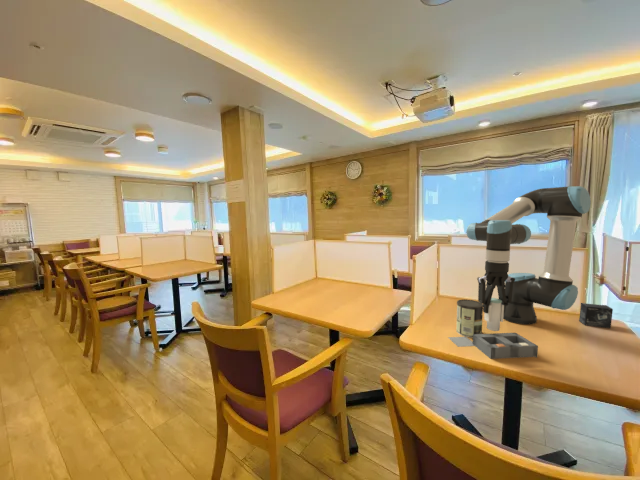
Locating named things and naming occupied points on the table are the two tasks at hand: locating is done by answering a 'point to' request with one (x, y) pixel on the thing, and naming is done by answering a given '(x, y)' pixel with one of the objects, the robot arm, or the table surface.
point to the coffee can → (469, 317)
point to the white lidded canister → (495, 315)
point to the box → (596, 315)
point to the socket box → (505, 345)
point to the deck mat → (461, 341)
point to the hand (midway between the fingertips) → (493, 320)
